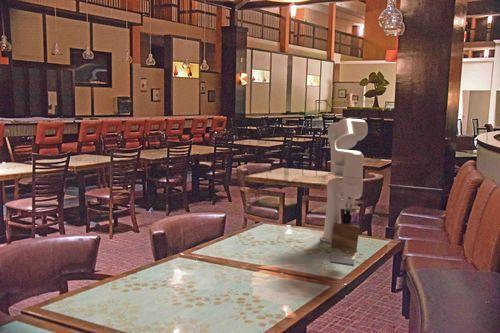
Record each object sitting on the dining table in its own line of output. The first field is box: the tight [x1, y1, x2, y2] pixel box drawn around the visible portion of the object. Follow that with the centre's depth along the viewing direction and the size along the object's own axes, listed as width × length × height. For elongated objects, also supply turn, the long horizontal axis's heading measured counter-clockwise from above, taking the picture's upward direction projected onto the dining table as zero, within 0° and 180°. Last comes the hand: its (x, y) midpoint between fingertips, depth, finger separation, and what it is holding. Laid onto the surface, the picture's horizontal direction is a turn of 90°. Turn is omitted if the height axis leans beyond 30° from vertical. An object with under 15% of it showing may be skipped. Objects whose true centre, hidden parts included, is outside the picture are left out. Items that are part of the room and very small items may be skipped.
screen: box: [330, 223, 360, 252], centre depth 244 cm, size 2×12×12 cm, turn 78°
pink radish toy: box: [340, 208, 361, 226], centre depth 224 cm, size 7×5×9 cm
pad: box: [330, 255, 355, 267], centre depth 226 cm, size 8×10×1 cm
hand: (347, 221), depth 224 cm, fingers closed on pink radish toy, 5 cm apart
